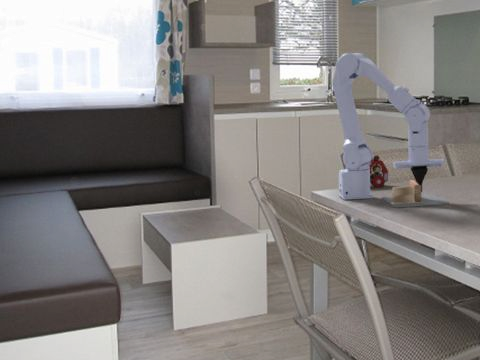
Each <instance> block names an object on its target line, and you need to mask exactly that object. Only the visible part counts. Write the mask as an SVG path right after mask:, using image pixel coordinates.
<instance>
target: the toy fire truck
mask: <svg viewBox="0 0 480 360" xmlns="http://www.w3.org/2000/svg"><path fill="white" fill-rule="evenodd" d="M369 166H370V185H373V186H374V187H375V188H376V189H377V188H382V187H384V185H385V183H386V182H388V181H389V170H388V168H387V166H386V165H385V162H384V161H383V160H381V159H380V156H379V155H373V156H372V160H371V161H370V163H369Z"/></svg>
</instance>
